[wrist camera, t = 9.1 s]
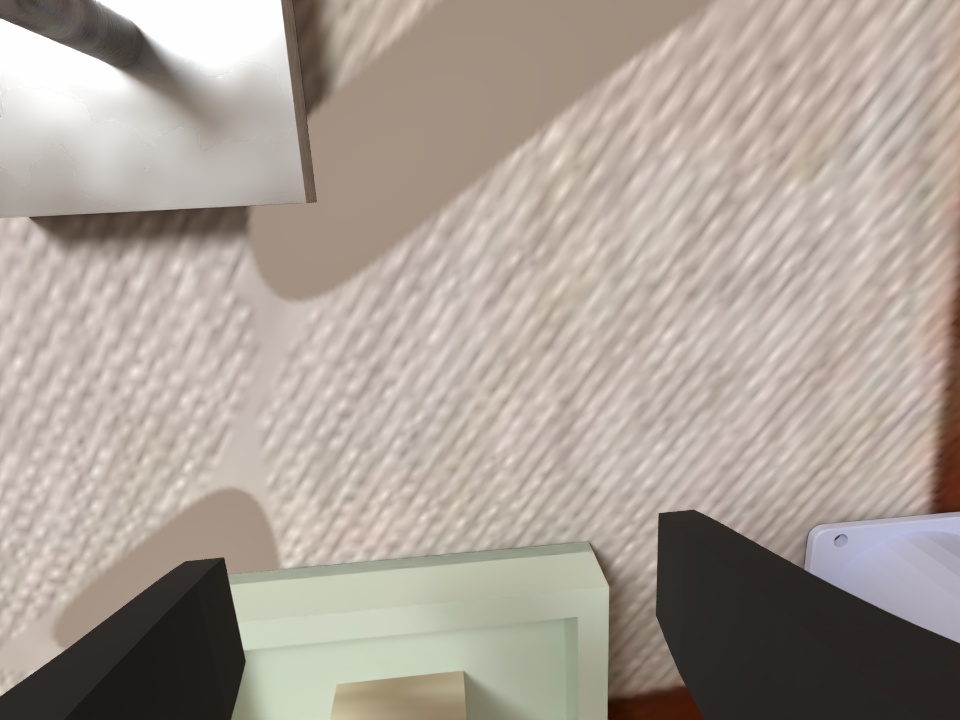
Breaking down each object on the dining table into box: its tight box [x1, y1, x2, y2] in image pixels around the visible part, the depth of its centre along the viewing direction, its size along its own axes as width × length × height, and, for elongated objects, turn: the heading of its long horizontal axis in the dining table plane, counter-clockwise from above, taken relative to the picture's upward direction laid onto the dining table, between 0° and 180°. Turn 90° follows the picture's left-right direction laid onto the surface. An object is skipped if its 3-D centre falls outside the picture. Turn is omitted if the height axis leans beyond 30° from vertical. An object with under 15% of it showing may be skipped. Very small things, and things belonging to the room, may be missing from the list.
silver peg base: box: [0, 0, 317, 218], centre depth 13 cm, size 8×8×6 cm
